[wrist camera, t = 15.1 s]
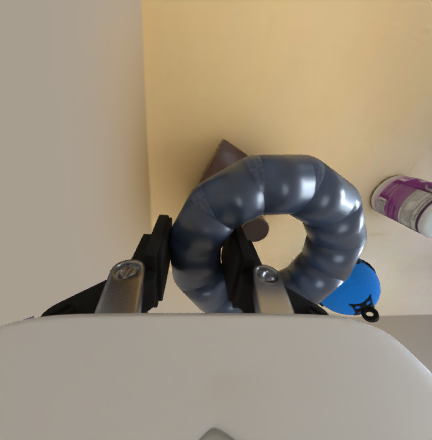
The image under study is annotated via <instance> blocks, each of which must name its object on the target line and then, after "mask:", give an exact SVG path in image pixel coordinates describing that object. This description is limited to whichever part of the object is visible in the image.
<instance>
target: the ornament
mask: <svg viewBox="0 0 432 440" xmlns="http://www.w3.org/2000/svg"><path fill="white" fill-rule="evenodd" d="M379 296H380V283H379V279H378V277H377V275H376V272H375V270H374V268H373V267H372V266H371V265H370V264H369V263H367V262H365V261H364V260H361V259H360V258H358V260H357V262H356V264H355V266H354V268H353V270H352V272H351V274H350V276H349V278H348V279H347V280H346V281H345V282H344V283H343V284H341V285H340V286H339V287H338V288H337V289H336V290H334V291H333V292H332V293H331V294H330V295H329V296H327V297H326V298H325V299H324V300H323V301H322V302H321V303H319V304H320V305H321V306H325V307H327V308H328V309H330V310H332V311H334V312H337V313H340V314H345V315H360V314H361V315H362V317H363V318H364V319H365V320H366V321H368V322H377V321H378V320H379V314H378V312H377V310H376V309H374V307H375V306H374V305H375V304H376V303H377V301H378V299H379ZM367 312H372V313H373V314H374V315H373V316H367V315H366V313H367Z"/></svg>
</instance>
